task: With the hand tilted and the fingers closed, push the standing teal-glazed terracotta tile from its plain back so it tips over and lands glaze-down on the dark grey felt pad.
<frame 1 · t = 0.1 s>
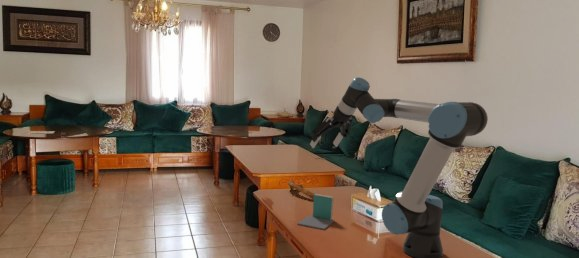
hand: (323, 145, 211), 36 cm above the table, tool tilted 35°, fingers open, 13 cm apart
tile: (322, 218, 222), on the table
pad: (315, 223, 214), on the table
brown curved bar: (303, 196, 260), on the table
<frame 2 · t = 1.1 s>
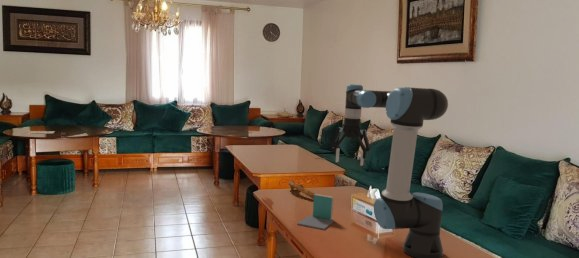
hand: (349, 163, 222), 26 cm above the table, tool pointing down, fingers open, 11 cm apart
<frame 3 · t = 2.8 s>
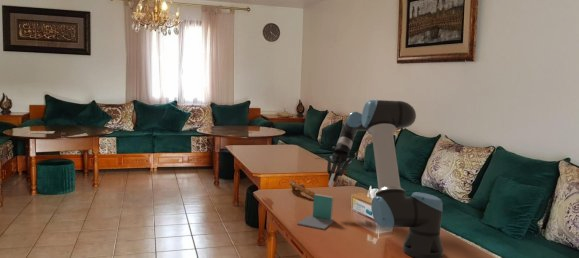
hand: (330, 186, 228), 14 cm above the table, tool tilted 45°, fingers closed
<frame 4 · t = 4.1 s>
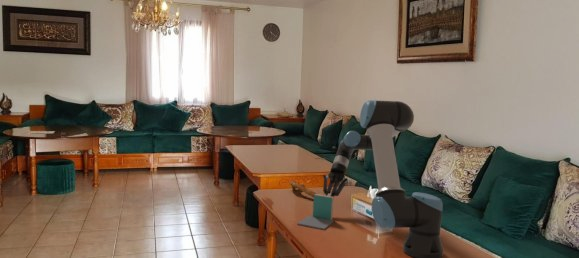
hand: (326, 206, 225), 5 cm above the table, tool tilted 45°, fingers closed
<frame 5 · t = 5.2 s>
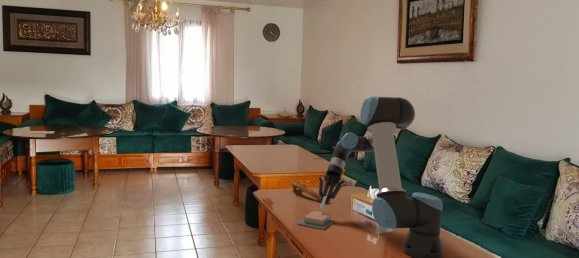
hand: (321, 209, 220), 5 cm above the table, tool tilted 45°, fingers closed
tile: (322, 215, 221), point 2 cm above the table, tilted 90°, touching pad
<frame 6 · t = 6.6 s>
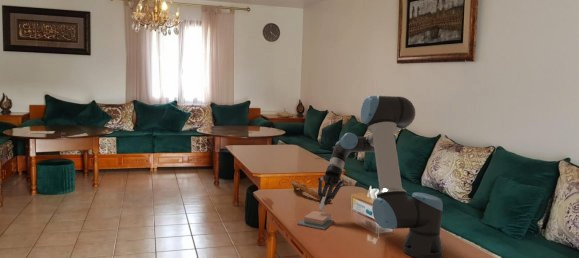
hand: (320, 210, 218), 5 cm above the table, tool tilted 45°, fingers closed
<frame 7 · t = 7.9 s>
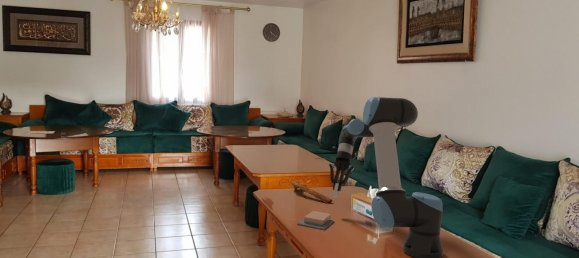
hand: (335, 196, 229), 9 cm above the table, tool tilted 35°, fingers closed
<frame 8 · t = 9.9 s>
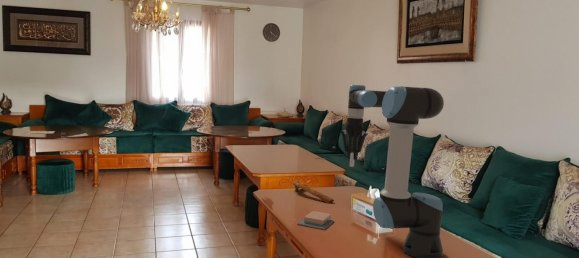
hand: (351, 166, 226), 24 cm above the table, tool pointing down, fingers closed
at the end: tile tilted 90°; tile 7.4 cm from the pad (horizontally); the gripper is holding nothing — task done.
